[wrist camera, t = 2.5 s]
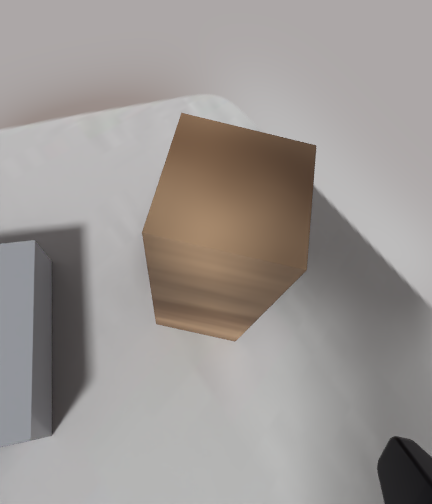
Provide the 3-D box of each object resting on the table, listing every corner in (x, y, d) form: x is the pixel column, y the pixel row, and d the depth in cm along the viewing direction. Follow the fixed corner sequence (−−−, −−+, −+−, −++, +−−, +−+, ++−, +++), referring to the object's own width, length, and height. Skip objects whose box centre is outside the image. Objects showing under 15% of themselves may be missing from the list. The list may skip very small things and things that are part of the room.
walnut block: (235, 341, 21) (306, 270, 10) (156, 324, 21) (142, 232, 10) (247, 268, 23) (316, 145, 12) (175, 252, 23) (181, 112, 12)
